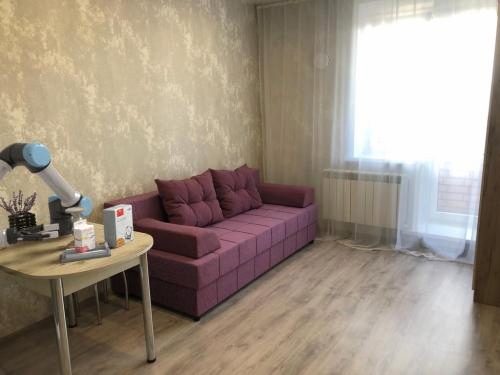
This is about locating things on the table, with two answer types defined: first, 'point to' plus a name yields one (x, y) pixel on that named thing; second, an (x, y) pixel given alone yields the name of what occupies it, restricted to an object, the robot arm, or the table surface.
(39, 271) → the table surface
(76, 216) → the candle holder
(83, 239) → the ink cartridge box
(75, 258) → the rail cradle
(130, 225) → the hard drive box
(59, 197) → the robot arm
